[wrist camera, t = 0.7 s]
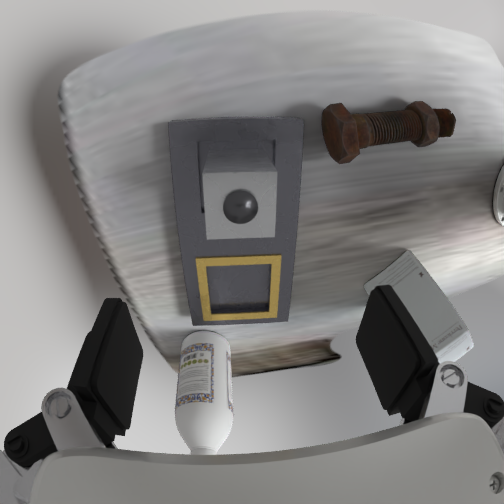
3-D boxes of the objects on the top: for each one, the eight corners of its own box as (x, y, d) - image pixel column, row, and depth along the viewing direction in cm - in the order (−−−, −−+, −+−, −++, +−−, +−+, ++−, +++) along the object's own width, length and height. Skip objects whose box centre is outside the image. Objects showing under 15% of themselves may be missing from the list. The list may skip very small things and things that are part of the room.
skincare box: (407, 247, 34) (472, 324, 22) (422, 272, 37) (477, 345, 24) (359, 287, 37) (406, 375, 24) (378, 308, 40) (421, 388, 27)
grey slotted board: (299, 117, 26) (304, 119, 24) (285, 311, 38) (288, 322, 36) (171, 120, 25) (167, 122, 23) (193, 315, 37) (192, 326, 35)
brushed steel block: (263, 148, 26) (278, 172, 19) (262, 198, 29) (275, 239, 21) (209, 150, 26) (202, 174, 19) (211, 200, 28) (206, 241, 21)
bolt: (430, 123, 28) (319, 136, 28) (439, 90, 23) (320, 96, 24) (457, 155, 25) (341, 176, 25) (472, 122, 21) (346, 133, 21)
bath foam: (172, 346, 40) (159, 476, 23) (200, 321, 38) (194, 467, 21) (210, 365, 43) (211, 487, 26) (239, 343, 41) (250, 477, 23)
